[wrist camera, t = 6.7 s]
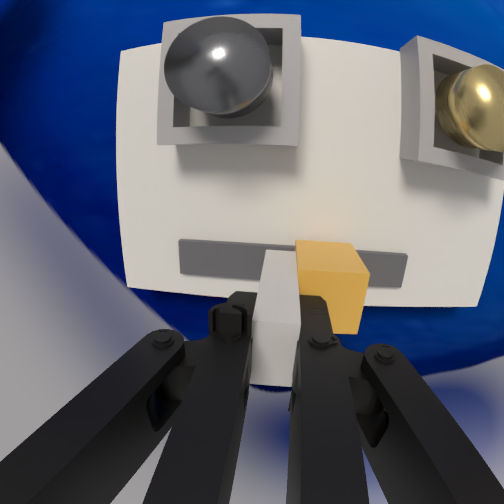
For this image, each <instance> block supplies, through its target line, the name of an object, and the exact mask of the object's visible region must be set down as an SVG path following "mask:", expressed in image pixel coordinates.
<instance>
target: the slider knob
mask: <svg viewBox="0 0 504 504" xmlns="http://www.w3.org/2000/svg"><path fill="white" fill-rule="evenodd" d="M295 251H296V261H297V273H298V286H299V295H314V296H321V297H322V298H323V299H324V300H325V301H326V303H327V307H328V312H329V316H330V321H331V325H332V330H333V334H357V332H358V328H359V324H360V319H361V315H362V311H363V306H364V301H365V297H366V292H367V287H368V282H369V277H370V273H369V271H368V269H367V268H366V266H365V265H364V263H363V261H362V260H361V258H360V257H359V255H358V253H357V252H356V250H355V249H354V247H353V245H352V244H351V243H339V242H324V241H310V240H296V241H295Z"/></svg>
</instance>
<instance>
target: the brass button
mask: <svg viewBox="0 0 504 504" xmlns="http://www.w3.org/2000/svg"><path fill="white" fill-rule="evenodd" d="M435 108H436V113H437V117H438V120H439V122H440V124H441V126H442V128H443V130H444V131H445V133H446V134H447V136H448V137H449V138H450V139H451V140H452V141H453V142H455V143H456V144H458V145H459V146H461V147H464V148H469V149H480V150H489V151H498V152H504V71H502V70H501V69H499V68H498V67H496V66H493V65H489V64H483V65H479V66H476V67H473V68H470V69H467V70H464V71H461V72H458V73H455V74H453V75H450V76H448V77H446V78H444V79H443V80H442V81H441V83H440V84H439V86H438V88H437V91H436V96H435Z"/></svg>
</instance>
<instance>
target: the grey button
mask: <svg viewBox="0 0 504 504" xmlns="http://www.w3.org/2000/svg"><path fill="white" fill-rule="evenodd" d="M164 75H165V80H166V83H167V85H168V87H169V89H170V91H171V92H172V94H173V95H174V96H175V97H176V98H177V99H178V100H179V101H181V102H182V103H184V104H185V105H187V106H189V107H192V108H194V109H197V110H199V111H202V112H204V113H207V114H209V115H212V116H215V117H219V118H237V117H241V116H244V115H246V114H249V113H251V112H252V111H254V110H256V109H257V108H258V107H259V106H260V105H261V104H262V103H263V102H264V101H265V100H266V98H267V97H268V95H269V93H270V91H271V88H272V84H273V70H272V64H271V59H270V53H269V49H268V45H267V43H266V41H265V39H264V37H263V36H262V34H261V33H260V32H259V31H258V30H257V29H256V28H255V27H253V26H252V25H251V24H249V23H247V22H245V21H243V20H240V19H237V18H233V17H225V16H223V17H211V18H207V19H203V20H201V21H198V22H196V23H194V24H192V25H190V26H189V27H187V28H186V29H184V30H183V31H182V32H181V33H180V34H179V35H178V36H177V37H176V38H175V39H174V41H173V42H172V44H171V45H170V47H169V49H168V51H167V54H166V57H165V62H164Z"/></svg>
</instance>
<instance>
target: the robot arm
mask: <svg viewBox="0 0 504 504" xmlns="http://www.w3.org/2000/svg"><path fill="white" fill-rule="evenodd" d="M208 317H209V335H208V337H207V338H204V339H201V340H195V341H184V337H183V336H182V335H181V334H180V333H179V332H177V331H175V330H169V329H159V330H156V331H152V332H151V333H149V334H147V335H146V336H145V337H144V338H142V339H141V340H140V341H139V342H138V343H137V344H135V345H134V346H133V347H132V348H131V349H130V350H128V351H127V352H126V353H125V354H124V355H123V356H122V357H120V358H119V359H118V360H117V361H116V362H114V363H113V364H112V365H111V366H110V367H109V368H108V369H106V370H105V371H104V372H103V373H102V374H101V375H99V376H98V377H97V378H96V379H95V380H94V381H92V382H91V383H90V384H89V385H88V386H87V387H85V388H84V389H83V390H82V391H81V392H80V393H79V394H77V395H76V396H75V397H74V398H73V399H72V400H70V401H69V403H67V404H66V405H65V406H64V407H62V408H61V409H60V410H59V411H58V412H57V413H56V414H54V415H53V416H52V417H51V418H50V419H49V420H47V421H46V422H45V423H44V424H43V425H42V426H41V427H40V428H38V429H37V430H36V431H35V432H34V433H33V434H31V435H30V436H29V437H28V438H27V439H26V440H25V441H23V443H21V444H20V445H19V446H18V447H17V448H16V449H14V450H13V451H12V452H11V453H10V454H9V455H7V456H6V457H5V458H4V459H3V460H2V461H1V462H0V504H110V503H111V502H112V501H113V499H114V498H115V497H116V496H117V495H118V493H119V492H120V491H121V490H122V489H123V487H124V486H125V485H126V484H127V483H128V481H129V480H130V479H131V478H132V476H133V475H134V474H135V473H136V472H137V470H138V469H139V468H140V467H141V465H142V464H143V463H144V462H145V460H146V459H147V458H148V457H149V455H150V454H151V453H152V451H153V450H154V449H155V448H156V446H157V445H158V444H159V442H160V441H161V440H162V439H163V437H164V436H165V435H166V434H167V432H168V431H169V430H170V428H171V427H172V429H171V431H170V434H169V436H168V439H167V441H166V444H165V446H164V449H163V452H162V454H161V457H160V459H159V462H158V464H157V467H156V470H155V472H154V475H153V477H152V480H151V483H150V485H149V488H148V490H147V493H146V496H145V498H144V501H143V504H229V501H230V496H231V491H232V485H233V480H234V474H235V469H236V463H237V458H238V452H239V447H240V441H241V435H242V430H243V423H244V418H245V412H246V406H247V400H248V394H249V384H260V385H272V386H287V387H292V392H291V398H290V403H289V409H288V411H290V436H289V459H288V461H289V462H288V480H287V496H286V497H287V498H286V504H369V497H368V489H367V481H366V474H365V467H364V460H363V454H362V448H363V450H364V453H365V455H366V457H367V459H368V461H369V463H370V465H371V467H372V470H373V472H374V474H375V476H376V478H377V480H378V482H379V484H380V487H381V489H382V491H383V493H384V495H385V497H386V499H387V502H388V504H504V489H503V487H502V486H501V484H500V483H499V481H498V480H497V478H496V477H495V475H494V474H493V473H492V471H491V469H490V468H489V467H488V465H487V464H486V462H485V461H484V459H483V458H482V457H481V455H480V454H479V452H478V451H477V450H476V448H475V447H474V445H473V444H472V443H471V441H470V440H469V439H468V437H467V436H466V434H465V433H464V432H463V430H462V429H461V428H460V426H459V425H458V424H457V423H456V421H455V420H454V418H453V417H452V416H451V414H450V413H449V412H448V410H447V409H446V408H445V407H444V405H443V404H442V403H441V401H440V400H439V399H438V397H437V396H436V395H435V394H434V392H433V391H432V390H431V389H430V387H429V386H428V385H427V383H426V382H425V381H424V380H423V379H422V377H421V376H420V375H419V373H418V372H417V371H416V370H415V368H414V367H413V366H412V365H411V364H410V362H409V361H408V360H407V359H406V357H405V356H404V355H403V354H402V353H401V352H400V351H399V350H398V349H397V348H395V347H393V346H391V345H387V344H373V345H370V346H369V347H368V348H366V349H365V353H360V352H355V351H352V350H348V349H346V348H344V347H342V345H341V342H340V340H339V338H338V337H337V336H335V335H334V334H333V330H332V325H331V321H330V316H329V312H328V307H327V303H326V301H325V300H324V299H323V298H322V297H321V296H314V295H299V286H298V273H297V261H296V251H281V250H266V253H265V258H264V263H263V268H262V273H261V278H260V283H259V288H258V293H257V292H244V291H235V292H234V293H233V294H231V295H230V296H229V298H228V301H227V303H222V304H217V305H215V306H213V307H211V309H210V310H209V311H208ZM249 381H250V383H249ZM361 446H362V448H361Z"/></svg>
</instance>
